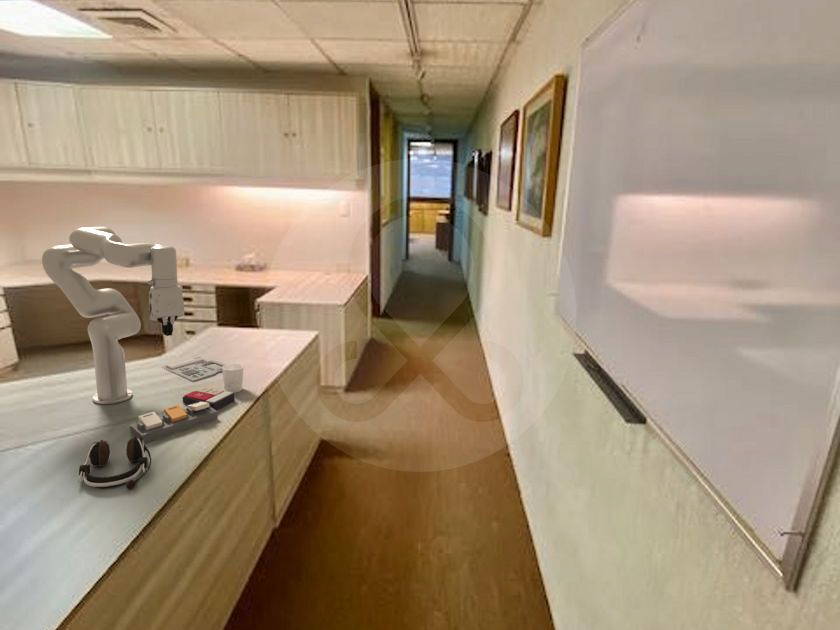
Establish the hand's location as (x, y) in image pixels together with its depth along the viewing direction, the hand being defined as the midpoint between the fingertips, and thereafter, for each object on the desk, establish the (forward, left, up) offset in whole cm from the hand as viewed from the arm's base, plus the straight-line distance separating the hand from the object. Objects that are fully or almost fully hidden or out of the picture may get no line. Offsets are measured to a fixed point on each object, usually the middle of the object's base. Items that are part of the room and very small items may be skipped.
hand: (167, 334), depth 165 cm
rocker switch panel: (+12, -4, -29) cm, 31 cm away
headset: (+27, -28, -30) cm, 49 cm away
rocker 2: (+12, +4, -24) cm, 27 cm away
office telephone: (-33, +27, -30) cm, 52 cm away
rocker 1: (+12, -12, -24) cm, 29 cm away
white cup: (-3, +26, -29) cm, 39 cm away
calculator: (+1, +13, -30) cm, 33 cm away
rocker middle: (+12, -4, -24) cm, 27 cm away
